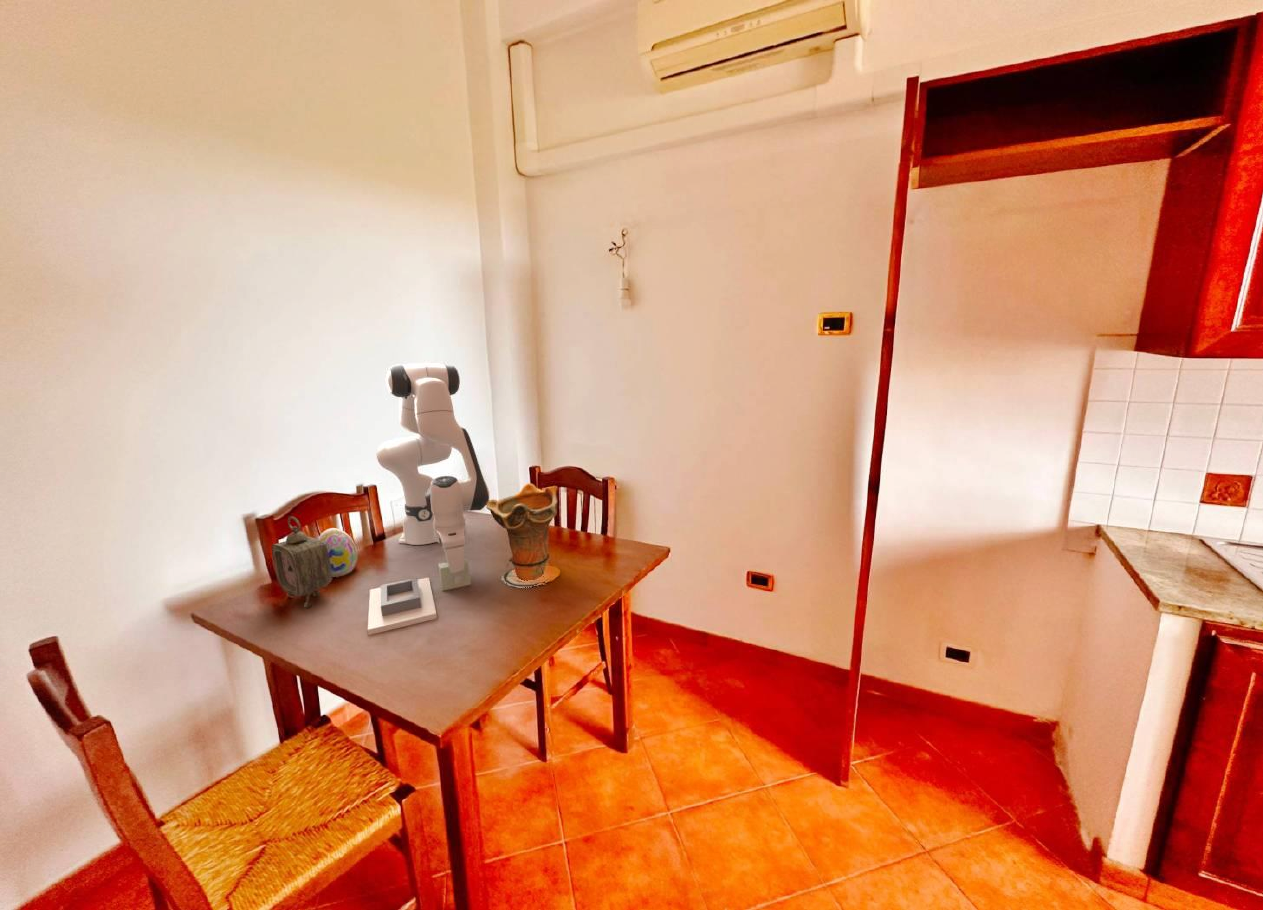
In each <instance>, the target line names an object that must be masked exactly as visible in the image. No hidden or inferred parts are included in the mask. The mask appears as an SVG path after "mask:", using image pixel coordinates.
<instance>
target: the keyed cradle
mask: <svg viewBox="0 0 1263 910" xmlns="http://www.w3.org/2000/svg"><path fill="white" fill-rule="evenodd" d="M368 603H369V604H368V618H367V619H368V620H367V634H368V636H370V635H374V634H379V633H383V632H387V631H391V630H392V631H393V630H395V629H400V628H402V627H403V628H404V627H407V626H412V625H416V624H420V623H423V622H424V623H425V622H427V621H432V620H436V619H437V617H438V616H437V611H436V605H435V600H434V597H433V592H432V586H431V582H430V577H423V578H420V579H418V577H413V578H409V579H403V580H399V581H398V580H397V581H393V582H388V583H384V584H381V585H380V587H376V588H371V589H369V601H368Z"/></svg>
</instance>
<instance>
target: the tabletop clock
mask: <svg viewBox="0 0 1263 910" xmlns="http://www.w3.org/2000/svg"><path fill="white" fill-rule="evenodd" d="M291 520H294V521H295V522H296V524H297V525H298V527H297V525H296V526H292V525H291ZM287 524H288V527H289V529H290V530H291V531H292V532H291V533H289V534H288V535H287V536H286V540H285V541H282V542H279V543H275V544H272V545H271V555H272V561H273V567H274V572H275V577H276V580H277V582H278V585H279V587H280V588H281V590H282V591H284V592H286V593H287V594H286V597H287V596H293V597H295V598H299V597H302V596H305V601H306V602H304V603H303V607H304V608H305V607H309V608H310V607H311V602H310V595H311V594H312V596H313V595H314V596H313V597H318V596H319V595H320V591H318V590H320V589H322V588H325V587H327V586H328V585H329V584H330V583H331V582H332V581H333V578H332V570H331V564H330V558H329V553H328V549H327V546H326V544H325V543H324V542H322V541H320V540H318V538H315V537H311V536H308V535H307V534H306V533H305V532H304V531H301V530H302V526H301V523H300V521H299V520H298V519H297V518H296V517H295V516H289V517H288V518H287ZM317 595H318V596H317Z"/></svg>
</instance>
